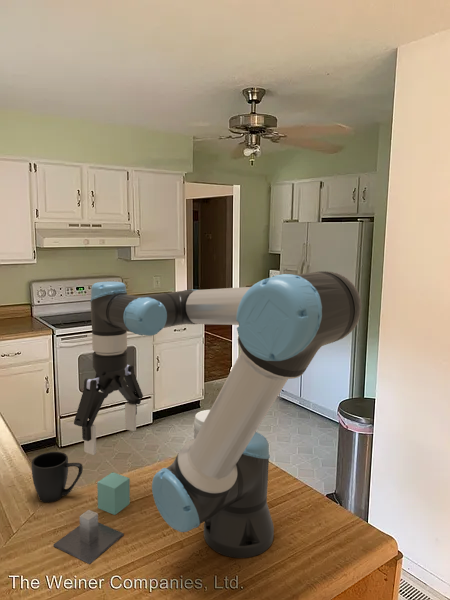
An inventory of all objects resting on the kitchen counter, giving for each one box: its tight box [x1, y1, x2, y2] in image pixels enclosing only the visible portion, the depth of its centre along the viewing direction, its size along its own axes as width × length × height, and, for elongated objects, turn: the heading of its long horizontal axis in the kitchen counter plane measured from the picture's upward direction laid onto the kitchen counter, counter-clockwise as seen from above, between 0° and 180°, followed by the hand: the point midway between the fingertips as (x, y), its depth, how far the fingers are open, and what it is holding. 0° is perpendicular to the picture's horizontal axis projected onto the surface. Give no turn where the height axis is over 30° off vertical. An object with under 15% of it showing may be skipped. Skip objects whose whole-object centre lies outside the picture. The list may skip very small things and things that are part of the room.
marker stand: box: [53, 509, 125, 565], centre depth 98 cm, size 10×10×6 cm
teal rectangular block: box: [96, 471, 131, 516], centre depth 110 cm, size 5×5×7 cm
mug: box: [31, 451, 84, 503], centre depth 113 cm, size 8×12×10 cm
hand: (111, 440), depth 108 cm, fingers open, 13 cm apart
